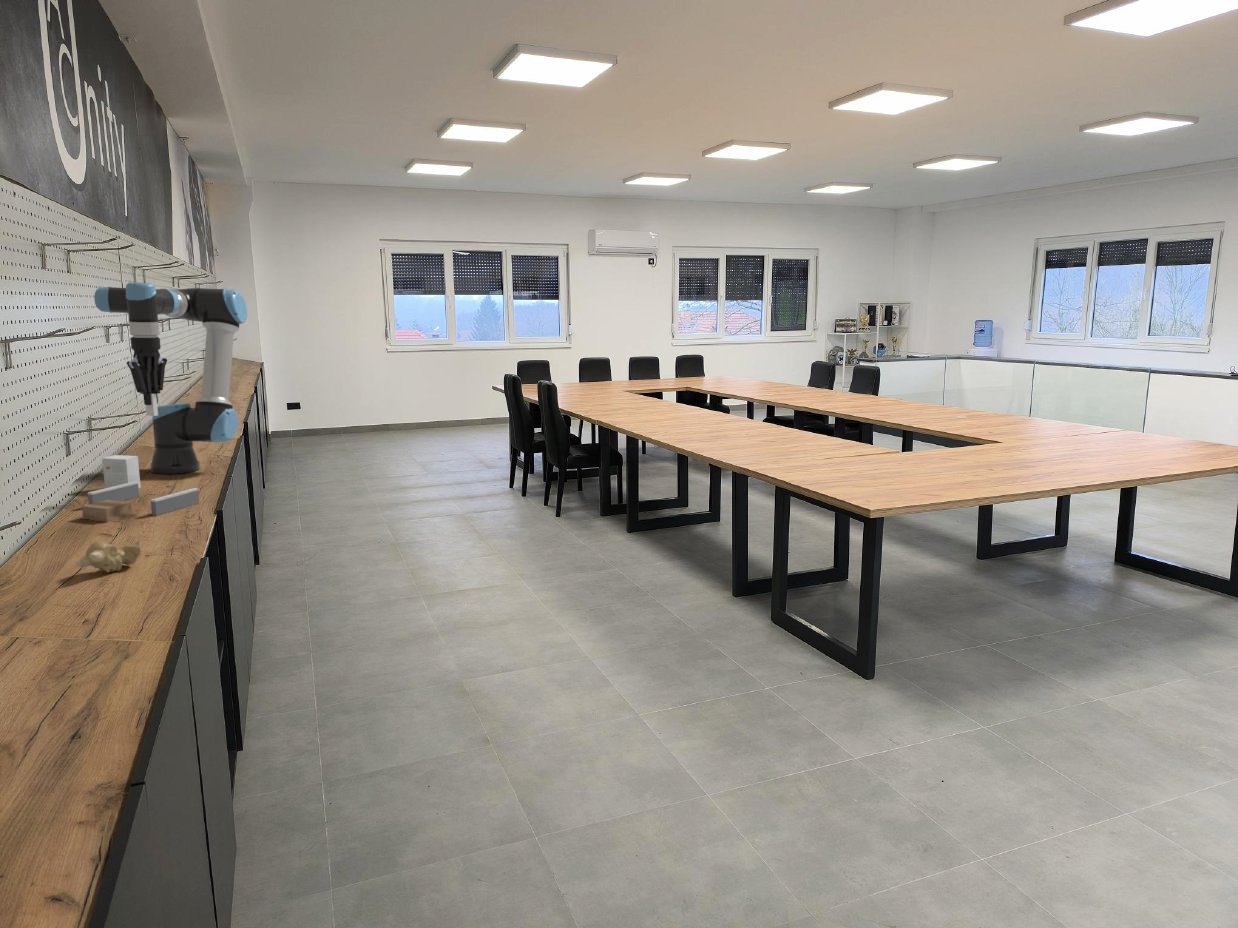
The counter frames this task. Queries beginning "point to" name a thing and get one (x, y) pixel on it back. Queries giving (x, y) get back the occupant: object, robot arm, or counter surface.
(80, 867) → the counter surface
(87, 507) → the walnut block
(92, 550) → the beige lumpy piece
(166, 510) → the corridor walls
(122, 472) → the small box
